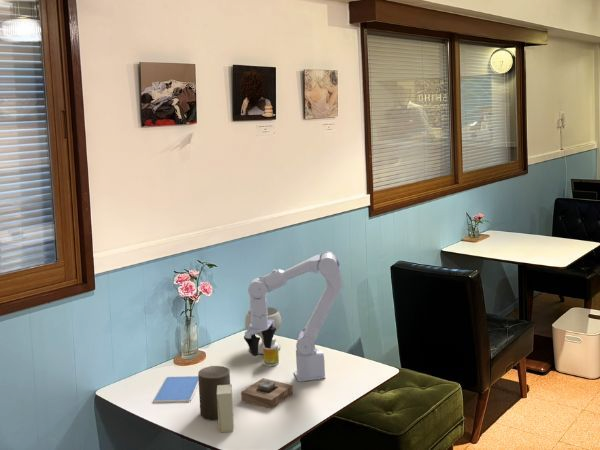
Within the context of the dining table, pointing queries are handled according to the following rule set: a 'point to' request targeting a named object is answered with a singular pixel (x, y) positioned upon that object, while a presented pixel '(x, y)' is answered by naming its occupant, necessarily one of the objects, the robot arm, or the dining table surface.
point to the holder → (267, 394)
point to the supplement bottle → (271, 354)
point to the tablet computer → (177, 389)
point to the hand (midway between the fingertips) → (261, 351)
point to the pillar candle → (211, 389)
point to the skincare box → (225, 408)
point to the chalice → (272, 315)
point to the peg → (266, 387)
